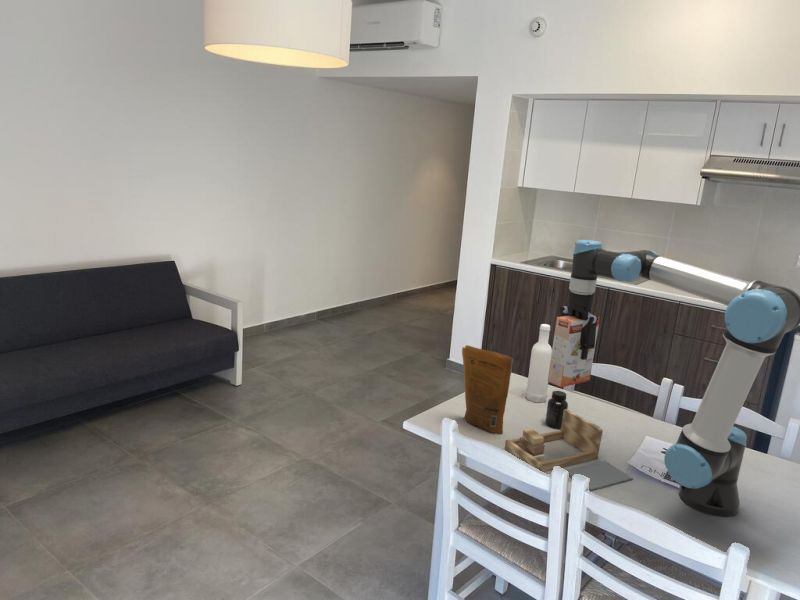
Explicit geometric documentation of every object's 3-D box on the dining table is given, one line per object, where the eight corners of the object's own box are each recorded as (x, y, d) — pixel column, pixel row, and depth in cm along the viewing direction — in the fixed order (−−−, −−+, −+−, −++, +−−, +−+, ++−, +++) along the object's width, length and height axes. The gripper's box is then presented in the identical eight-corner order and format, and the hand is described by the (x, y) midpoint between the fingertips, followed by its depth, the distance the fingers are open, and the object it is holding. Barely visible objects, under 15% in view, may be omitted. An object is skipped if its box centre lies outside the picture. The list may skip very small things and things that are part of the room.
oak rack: (597, 458, 187) (602, 429, 185) (537, 472, 176) (542, 442, 174) (562, 436, 201) (566, 409, 199) (504, 448, 190) (508, 419, 187)
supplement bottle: (554, 419, 214) (558, 388, 212) (569, 427, 209) (573, 395, 206) (540, 422, 211) (545, 391, 208) (555, 430, 205) (560, 398, 202)
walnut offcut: (543, 454, 182) (544, 445, 181) (533, 456, 180) (534, 447, 180) (528, 443, 188) (529, 435, 187) (518, 446, 186) (519, 437, 185)
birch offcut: (543, 464, 182) (544, 455, 181) (533, 466, 180) (534, 457, 180) (527, 452, 189) (528, 443, 188) (517, 454, 187) (518, 445, 187)
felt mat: (632, 479, 176) (632, 478, 176) (590, 491, 168) (590, 489, 168) (604, 462, 185) (604, 460, 185) (563, 472, 178) (563, 470, 177)
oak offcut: (542, 445, 181) (544, 437, 181) (533, 446, 180) (534, 439, 179) (531, 436, 187) (532, 429, 186) (522, 437, 185) (523, 430, 185)
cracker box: (562, 388, 178) (571, 321, 173) (546, 382, 182) (555, 316, 178) (591, 381, 186) (601, 316, 181) (575, 375, 191) (584, 312, 186)
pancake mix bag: (498, 439, 196) (508, 359, 189) (453, 419, 208) (461, 343, 202) (510, 433, 200) (519, 355, 194) (465, 414, 213) (473, 339, 207)
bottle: (547, 397, 234) (558, 324, 227) (544, 404, 227) (554, 329, 220) (527, 393, 237) (537, 320, 230) (523, 399, 230) (532, 325, 223)
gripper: (615, 298, 171) (604, 374, 176) (568, 284, 188) (559, 354, 193) (596, 300, 168) (585, 377, 173) (550, 285, 184) (541, 356, 189)
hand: (571, 364), depth 183 cm, fingers closed on cracker box, 6 cm apart
